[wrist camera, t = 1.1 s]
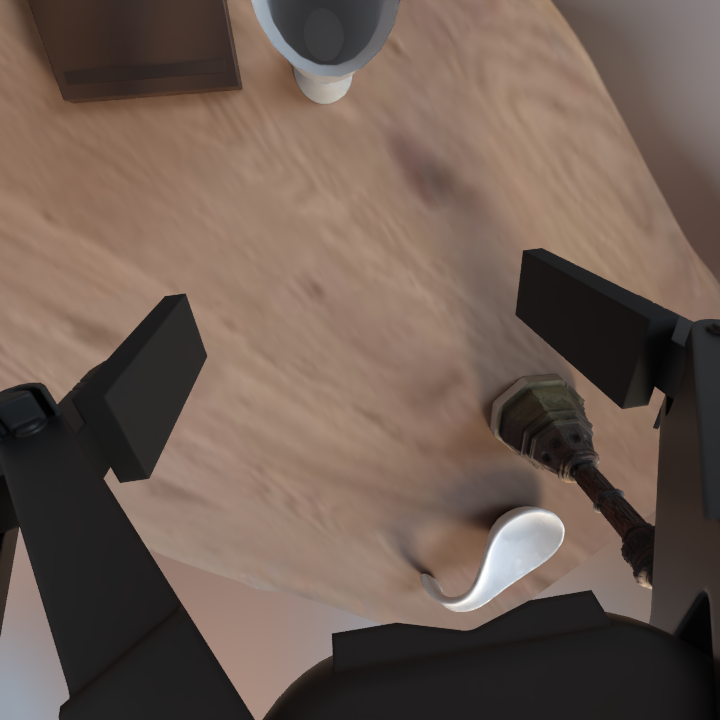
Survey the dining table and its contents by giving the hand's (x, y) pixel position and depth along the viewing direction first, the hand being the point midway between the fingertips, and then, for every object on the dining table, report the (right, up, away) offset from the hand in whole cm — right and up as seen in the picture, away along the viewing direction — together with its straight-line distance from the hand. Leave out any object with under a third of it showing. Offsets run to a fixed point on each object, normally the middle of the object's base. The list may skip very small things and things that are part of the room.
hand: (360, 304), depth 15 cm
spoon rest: (+20, -31, +47) cm, 59 cm away
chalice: (-3, +23, +18) cm, 29 cm away
